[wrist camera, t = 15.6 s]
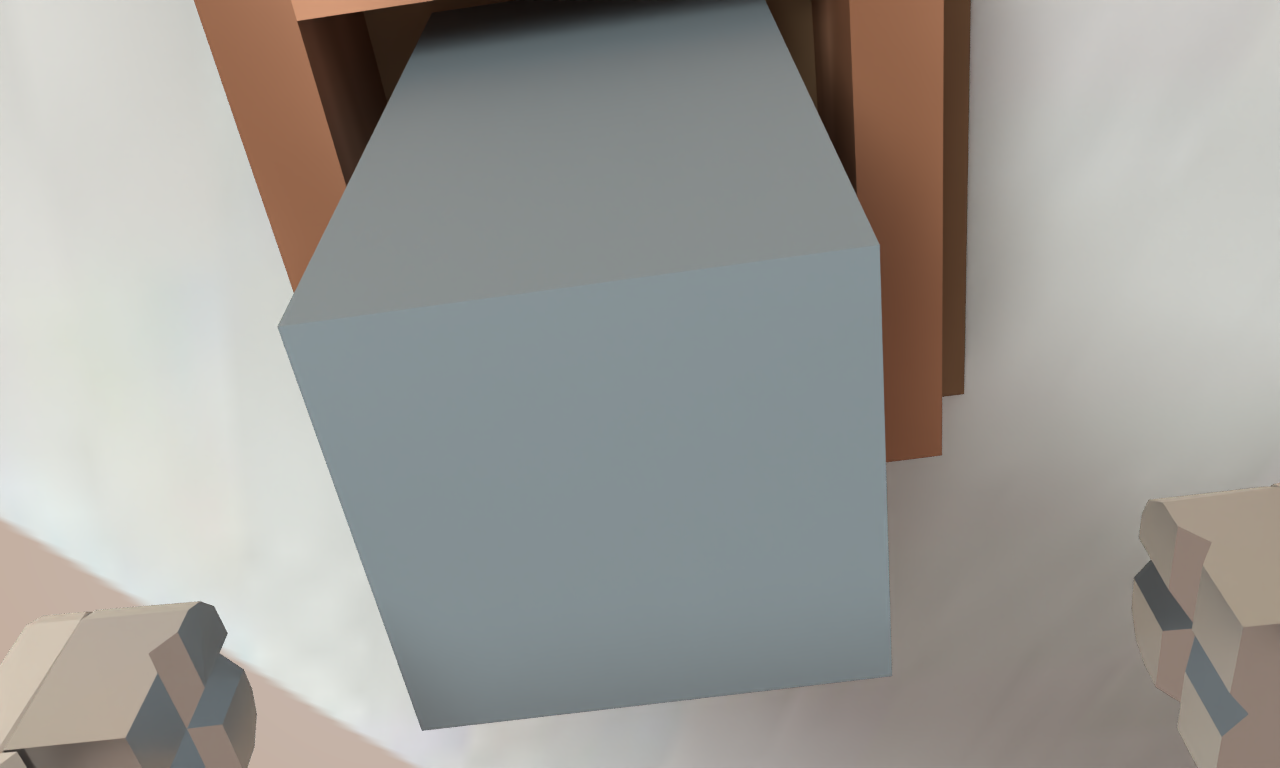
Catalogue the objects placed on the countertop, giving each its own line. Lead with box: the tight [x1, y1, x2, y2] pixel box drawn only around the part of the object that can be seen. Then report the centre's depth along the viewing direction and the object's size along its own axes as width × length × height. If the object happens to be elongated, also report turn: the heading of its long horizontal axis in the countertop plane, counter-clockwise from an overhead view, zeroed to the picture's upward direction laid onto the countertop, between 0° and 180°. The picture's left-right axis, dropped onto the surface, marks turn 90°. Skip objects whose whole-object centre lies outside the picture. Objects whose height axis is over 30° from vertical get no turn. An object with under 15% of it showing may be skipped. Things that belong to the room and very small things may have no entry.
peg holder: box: [194, 0, 971, 462], centre depth 18 cm, size 12×12×4 cm
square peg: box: [278, 0, 892, 731], centre depth 15 cm, size 5×5×10 cm
